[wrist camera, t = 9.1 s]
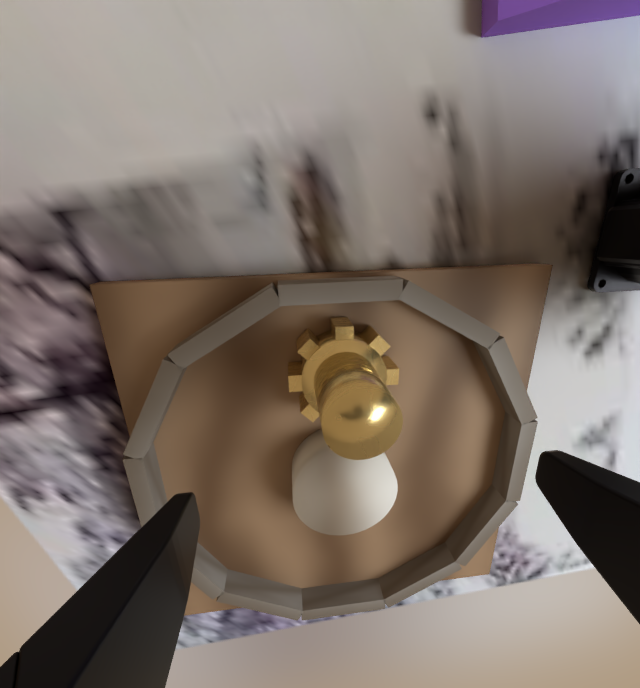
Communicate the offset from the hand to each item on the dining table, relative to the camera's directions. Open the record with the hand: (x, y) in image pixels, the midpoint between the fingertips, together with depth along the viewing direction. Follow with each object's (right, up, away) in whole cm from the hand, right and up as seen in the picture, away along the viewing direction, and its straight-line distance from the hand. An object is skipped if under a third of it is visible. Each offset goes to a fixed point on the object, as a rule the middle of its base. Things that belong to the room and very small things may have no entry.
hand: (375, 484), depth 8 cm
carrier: (0, -4, +13) cm, 14 cm away
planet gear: (0, +2, +10) cm, 10 cm away
